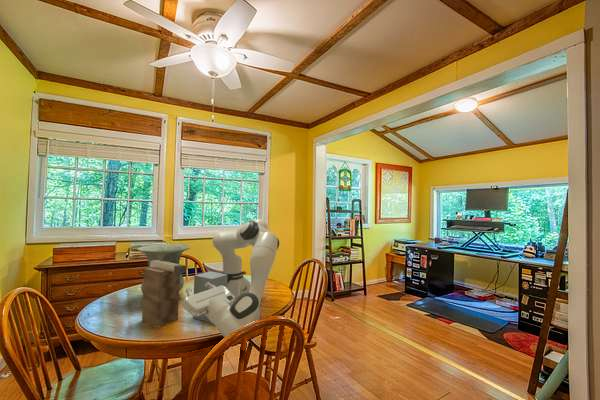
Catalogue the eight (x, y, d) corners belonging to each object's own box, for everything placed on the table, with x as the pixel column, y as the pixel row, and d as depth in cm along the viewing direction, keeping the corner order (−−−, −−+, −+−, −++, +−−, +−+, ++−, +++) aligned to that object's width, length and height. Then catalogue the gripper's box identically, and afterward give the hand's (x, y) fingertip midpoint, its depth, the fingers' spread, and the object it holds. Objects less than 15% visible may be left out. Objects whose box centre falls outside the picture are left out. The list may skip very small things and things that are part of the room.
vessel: (148, 313, 135) (151, 252, 136) (126, 301, 151) (128, 246, 152) (198, 299, 156) (199, 247, 157) (174, 290, 172) (175, 242, 173)
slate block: (209, 310, 140) (210, 271, 141) (226, 315, 134) (227, 274, 135) (192, 316, 132) (194, 275, 132) (210, 322, 126) (211, 279, 126)
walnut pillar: (162, 314, 134) (164, 265, 135) (177, 319, 128) (179, 268, 129) (141, 321, 125) (144, 268, 126) (157, 327, 119) (159, 272, 120)
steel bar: (156, 266, 132) (156, 259, 132) (185, 272, 121) (186, 265, 121) (150, 267, 130) (150, 260, 130) (179, 273, 119) (180, 266, 119)
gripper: (191, 324, 100) (171, 299, 106) (232, 307, 117) (212, 286, 124) (198, 311, 98) (177, 286, 104) (237, 295, 116) (218, 275, 122)
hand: (197, 286), depth 114 cm, fingers open, 8 cm apart
